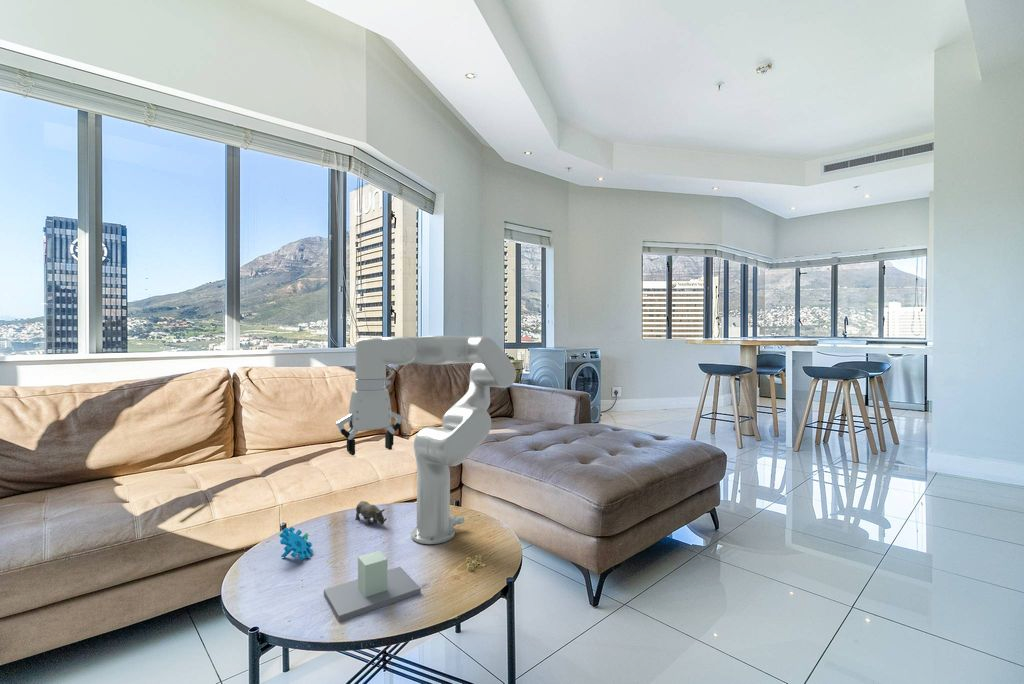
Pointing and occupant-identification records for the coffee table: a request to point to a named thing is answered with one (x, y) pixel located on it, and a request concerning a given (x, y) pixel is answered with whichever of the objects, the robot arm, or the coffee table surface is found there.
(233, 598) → the coffee table surface
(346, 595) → the pin plate
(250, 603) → the coffee table surface
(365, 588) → the block
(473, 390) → the robot arm
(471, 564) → the dice set
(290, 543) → the gear
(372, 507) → the rhino figurine
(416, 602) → the coffee table surface
